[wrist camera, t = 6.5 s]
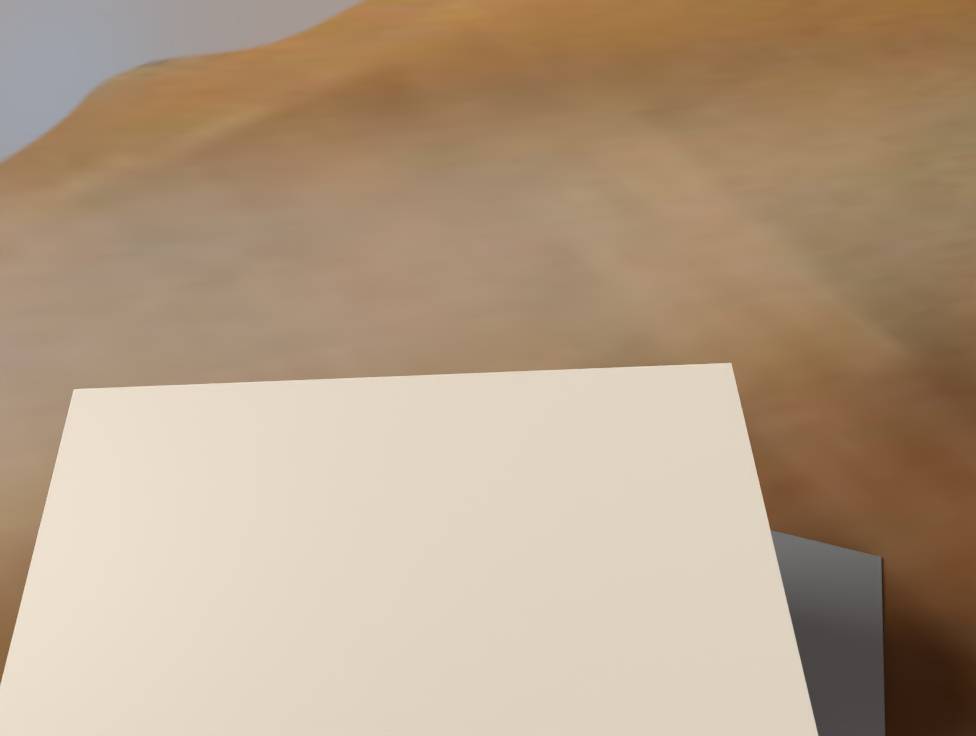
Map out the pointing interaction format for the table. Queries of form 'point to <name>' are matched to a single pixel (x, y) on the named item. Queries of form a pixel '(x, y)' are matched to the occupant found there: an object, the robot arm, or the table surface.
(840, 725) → the gray tile
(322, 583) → the ivory block
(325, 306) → the table surface
